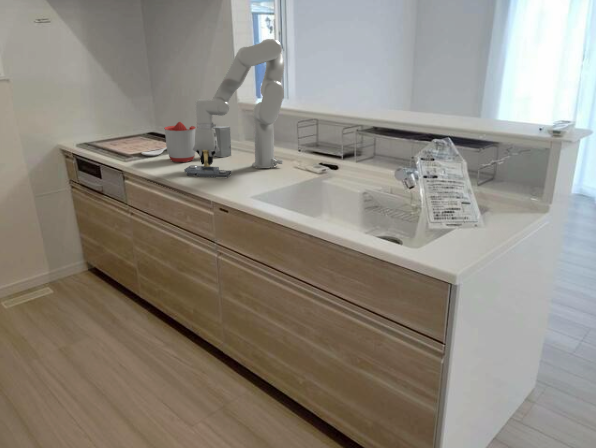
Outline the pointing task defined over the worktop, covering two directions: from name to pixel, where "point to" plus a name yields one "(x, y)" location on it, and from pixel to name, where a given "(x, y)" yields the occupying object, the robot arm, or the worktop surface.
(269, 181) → the worktop surface
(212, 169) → the upper link
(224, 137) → the skincare box
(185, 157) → the citrus juicer
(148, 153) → the spoon
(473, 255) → the worktop surface
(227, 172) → the lower link
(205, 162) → the brass pin
